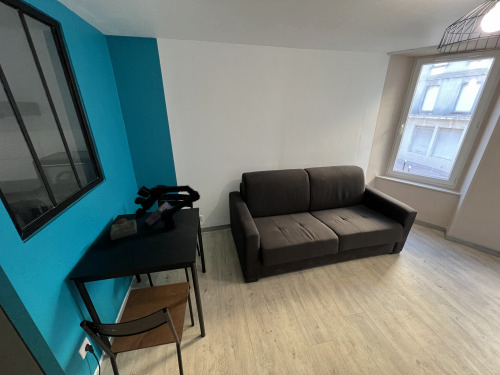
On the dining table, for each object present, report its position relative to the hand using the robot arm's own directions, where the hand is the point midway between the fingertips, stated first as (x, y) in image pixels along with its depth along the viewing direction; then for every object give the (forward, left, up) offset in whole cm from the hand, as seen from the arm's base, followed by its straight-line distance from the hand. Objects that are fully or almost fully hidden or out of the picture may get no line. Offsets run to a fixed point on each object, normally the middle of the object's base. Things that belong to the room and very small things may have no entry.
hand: (138, 215), depth 135 cm
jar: (+12, -7, -13) cm, 19 cm away
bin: (+12, -7, -14) cm, 19 cm away
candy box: (-7, -12, -11) cm, 18 cm away
